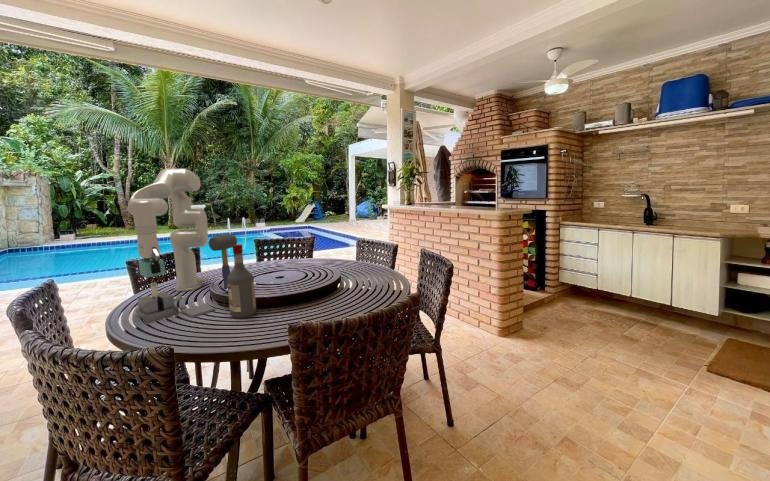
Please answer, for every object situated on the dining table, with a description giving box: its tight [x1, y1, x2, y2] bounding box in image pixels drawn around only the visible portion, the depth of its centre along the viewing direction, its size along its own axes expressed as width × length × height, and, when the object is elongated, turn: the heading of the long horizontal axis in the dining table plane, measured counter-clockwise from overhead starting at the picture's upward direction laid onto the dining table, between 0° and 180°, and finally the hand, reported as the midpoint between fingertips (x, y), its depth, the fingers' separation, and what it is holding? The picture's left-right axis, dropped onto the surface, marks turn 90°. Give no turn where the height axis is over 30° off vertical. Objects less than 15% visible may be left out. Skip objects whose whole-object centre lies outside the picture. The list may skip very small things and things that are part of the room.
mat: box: [180, 303, 216, 319], centre depth 155 cm, size 10×10×1 cm
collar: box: [137, 258, 166, 278], centre depth 149 cm, size 7×7×6 cm
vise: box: [135, 282, 187, 323], centre depth 153 cm, size 17×12×14 cm
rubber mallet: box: [208, 233, 238, 290], centre depth 179 cm, size 12×8×30 cm, turn 156°
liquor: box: [227, 244, 257, 319], centre depth 149 cm, size 9×9×30 cm
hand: (152, 271), depth 149 cm, fingers closed on collar, 7 cm apart
